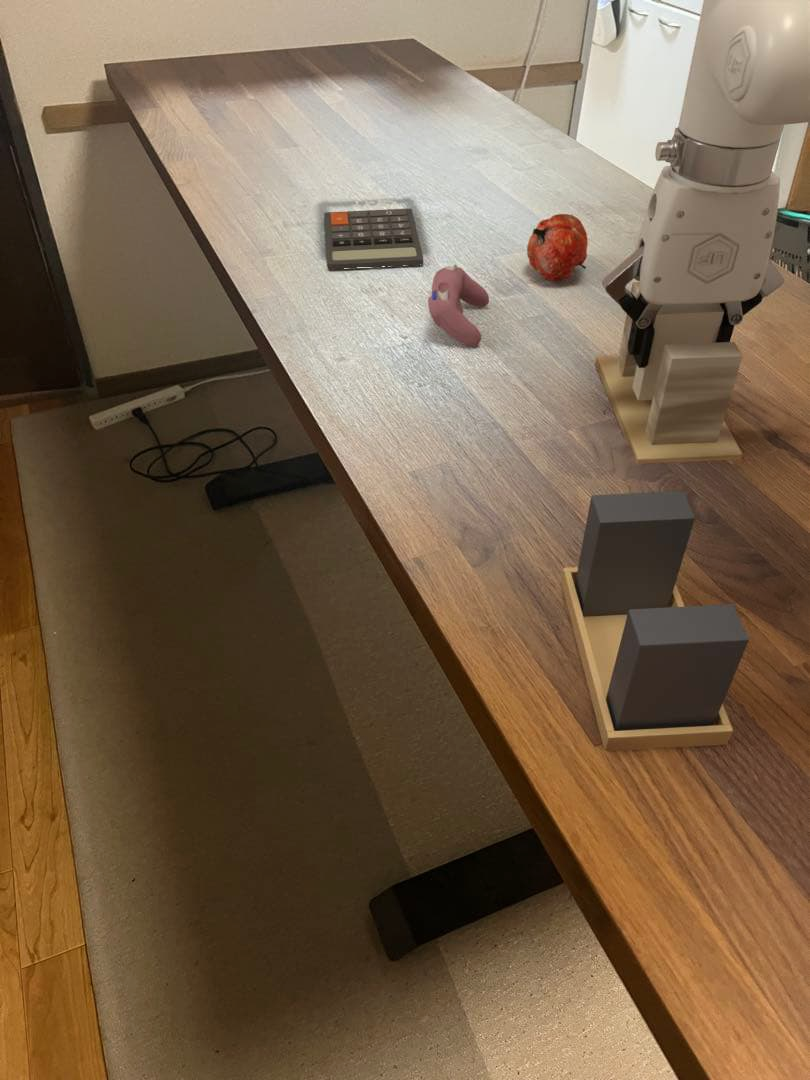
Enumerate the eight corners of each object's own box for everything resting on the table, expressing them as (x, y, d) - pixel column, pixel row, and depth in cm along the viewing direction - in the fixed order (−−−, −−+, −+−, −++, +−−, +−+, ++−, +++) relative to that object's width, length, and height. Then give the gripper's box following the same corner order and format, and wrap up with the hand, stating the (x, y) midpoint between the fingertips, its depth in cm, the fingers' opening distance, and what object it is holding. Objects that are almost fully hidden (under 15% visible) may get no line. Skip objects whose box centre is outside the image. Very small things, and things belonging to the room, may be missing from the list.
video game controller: (456, 314, 99) (430, 260, 95) (493, 300, 97) (467, 245, 94) (444, 360, 92) (415, 304, 88) (483, 346, 90) (455, 289, 87)
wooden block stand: (740, 463, 77) (772, 367, 70) (636, 467, 77) (657, 371, 70) (684, 360, 89) (707, 269, 82) (594, 363, 89) (609, 273, 82)
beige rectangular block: (700, 398, 81) (724, 311, 75) (637, 400, 81) (656, 314, 74) (693, 385, 82) (716, 299, 76) (631, 387, 82) (649, 301, 76)
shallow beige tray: (725, 748, 56) (733, 730, 55) (603, 755, 56) (608, 737, 54) (662, 580, 67) (667, 562, 65) (560, 585, 66) (563, 567, 65)
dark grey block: (710, 732, 56) (750, 639, 50) (614, 738, 56) (640, 645, 49) (698, 697, 58) (733, 603, 52) (604, 702, 58) (628, 608, 51)
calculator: (411, 206, 115) (423, 258, 104) (411, 213, 115) (423, 265, 105) (323, 211, 114) (326, 263, 103) (324, 217, 115) (327, 270, 104)
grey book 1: (666, 612, 64) (695, 517, 57) (581, 617, 63) (600, 522, 57) (656, 585, 66) (683, 490, 59) (573, 589, 65) (591, 494, 59)
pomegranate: (556, 273, 108) (500, 235, 102) (598, 227, 104) (542, 185, 98) (576, 308, 103) (518, 270, 97) (621, 261, 99) (564, 219, 94)
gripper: (624, 178, 63) (589, 385, 76) (853, 171, 64) (782, 377, 77) (601, 142, 69) (573, 340, 81) (813, 135, 69) (753, 333, 82)
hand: (675, 356), depth 79 cm, fingers closed on beige rectangular block, 6 cm apart
